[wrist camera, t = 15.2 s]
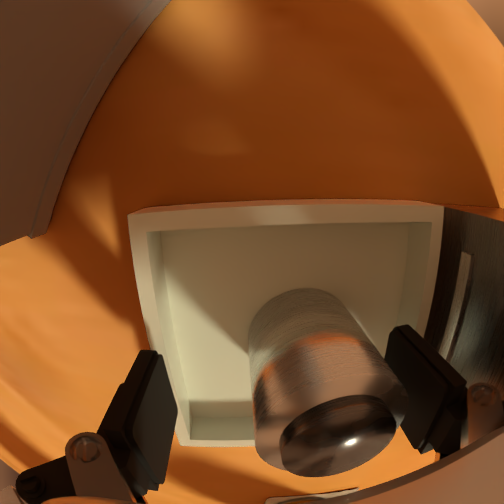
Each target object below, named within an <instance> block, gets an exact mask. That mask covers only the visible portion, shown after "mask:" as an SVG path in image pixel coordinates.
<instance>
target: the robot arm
mask: <svg viewBox="0 0 504 504" xmlns="http://www.w3.org/2000/svg"><path fill="white" fill-rule="evenodd" d="M384 360H385V361H386V362H387V364H388V365H389V367H390V368H391V369H392V371H393V372H394V374H395V375H396V376H397V378H398V379H399V381H400V382H401V384H402V385H403V386H404V388H405V389H406V392H407V394H408V408H407V412H406V414H405V417H404V419H403V421H402V422H401V424H400V426H401V428H402V430H403V431H404V433H405V435H406V436H407V438H408V440H409V441H410V443H411V445H412V446H413V448H414V449H418V451H419V452H420V454H423V453H426V452H428V451H430V450H432V449H433V448H434V450H435V452H436V455H435V462H434V463H432V464H430V465H428V466H426V467H423V468H421V469H419V470H416V471H414V472H412V473H409V474H407V475H404V476H402V477H399V478H396V479H394V480H391V481H388V482H385V483H382V484H379V485H376V486H373V487H370V488H366V489H363V490H360V491H356V492H352V493H349V494H345V495H341V496H336V497H332V498H327V499H323V500H318V501H312V502H307V503H300V504H504V401H503V400H501V395H500V392H499V391H498V389H497V388H496V387H494V386H493V385H491V384H488V383H484V382H480V383H475V384H473V385H471V386H470V387H469V389H468V388H467V387H466V384H467V381H466V380H465V379H464V378H463V377H462V376H461V375H460V374H459V373H458V372H457V371H456V370H455V369H454V368H453V367H452V366H451V365H450V364H449V363H448V362H447V361H446V360H445V359H444V358H443V357H442V356H441V355H440V354H439V353H438V352H437V351H436V350H435V349H434V348H433V347H432V346H431V345H430V344H429V343H428V342H427V341H426V340H425V339H424V338H423V337H421V336H420V335H419V334H418V333H417V332H416V331H415V330H414V329H413V328H412V327H411V326H410V325H408V324H406V325H401V326H396V327H394V328H393V330H392V331H391V332H390V333H389V337H388V343H387V348H386V353H385V358H384ZM177 415H178V407H177V404H176V400H175V397H174V394H173V391H172V387H171V384H170V380H169V377H168V373H167V370H166V366H165V362H164V359H163V356H162V354H158V352H157V351H156V350H141V351H140V352H139V354H138V356H137V358H136V360H135V362H134V364H133V366H132V368H131V370H130V372H129V374H128V376H127V378H126V380H125V382H124V383H122V384H120V386H119V387H118V389H117V391H116V393H115V395H114V397H113V399H112V402H111V404H110V406H109V408H108V410H107V412H106V414H105V416H104V418H103V420H102V422H101V425H100V427H99V429H98V431H97V433H92V432H84V433H80V434H77V435H75V436H74V437H72V438H71V439H70V440H69V441H68V443H67V444H66V447H65V455H66V456H63V457H61V458H58V459H55V460H53V461H50V462H48V463H45V464H42V465H39V466H36V467H34V468H31V469H28V470H25V471H24V472H22V473H21V474H20V475H19V476H18V478H17V480H16V487H14V488H13V487H12V486H11V485H10V486H8V487H7V488H5V489H3V490H1V491H0V504H148V502H147V500H146V499H145V497H144V495H145V494H147V491H148V490H155V491H158V488H159V484H163V483H164V481H165V476H166V470H167V465H168V460H169V455H170V449H171V444H172V440H173V435H174V430H175V425H176V420H177Z"/></svg>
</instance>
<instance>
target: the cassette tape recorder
mask: <svg viewBox="0 0 504 504" xmlns="http://www.w3.org/2000/svg"><path fill="white" fill-rule="evenodd" d="M170 1H171V0H0V246H1V245H4V244H6V243H9V242H11V241H14V240H16V239H19V238H22V237H24V236H29V237H30V238H31V239H32V238H35V237H37V236H40V235H42V234H45V233H46V232H47V228H48V224H49V222H50V220H51V216H52V211H53V208H54V205H55V202H56V199H57V196H58V193H59V190H60V187H61V184H62V182H63V179H64V176H65V174H66V171H67V169H68V166H69V164H70V161H71V159H72V156H73V154H74V152H75V149H76V147H77V145H78V143H79V140H80V138H81V136H82V134H83V132H84V130H85V128H86V126H87V124H88V122H89V120H90V118H91V116H92V114H93V112H94V110H95V108H96V106H97V105H98V103H99V101H100V99H101V97H102V96H103V94H104V92H105V90H106V89H107V87H108V85H109V84H110V82H111V80H112V79H113V77H114V75H115V74H116V72H117V71H118V69H119V68H120V66H121V64H122V63H123V61H124V60H125V59H126V57H127V56H128V54H129V53H130V51H131V50H132V48H133V47H134V46H135V44H136V43H137V41H138V40H139V39H140V37H141V36H142V35H143V33H144V32H145V31H146V30H147V28H148V27H149V26H150V24H151V23H152V22H153V21H154V20H155V18H156V17H157V16H158V15H159V14H160V12H161V11H162V10H163V9H164V8H165V7H166V5H167V4H168V3H169V2H170Z"/></svg>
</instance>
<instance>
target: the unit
mask: <svg viewBox="0 0 504 504" xmlns="http://www.w3.org/2000/svg"><path fill="white" fill-rule="evenodd" d="M431 204H432V203H431ZM435 205H440V206H444V216H443V229H442V240H441V249H440V257H439V264H438V271H437V277H436V283H435V289H434V294H433V299H432V304H431V309H430V313H429V318H428V322H427V326H426V330H425V334H424V339H425V340H426V341H427V342H428V343H429V344H430V345H431V346H432V347H433V348H434V349H435V350H436V351H437V352H438V353H439V354H440V355H441V356H442V357H443V358H444V359H445V360H446V361H447V362H448V363H449V364H450V365H451V366H452V367H453V368H454V369H455V370H456V371H457V372H458V373H459V374H460V375H461V376H462V377H463V378H464V379H465V380H466V381H467V384H466V387H467V388H468V389H469V387H470V386H471V385H473V384H475V383H480V382H484V383H488V384H491V385H493V386H494V387H496V388H497V389H498V391H499V392H500V395H501V400H503V401H504V209H502V208H494V207H481V206H467V205H452V204H435Z"/></svg>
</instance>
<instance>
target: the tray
mask: <svg viewBox="0 0 504 504" xmlns="http://www.w3.org/2000/svg"><path fill="white" fill-rule="evenodd" d="M443 216H444V206H440V205H435V204H431V203H426V202H421V201H415V200H385V199H287V200H255V201H232V202H214V203H197V204H183V205H170V206H158V207H146V208H144V209H141V210H138V211H136V212H133V213H130V214H128V215H127V218H128V227H129V236H130V244H131V251H132V258H133V265H134V271H135V277H136V283H137V289H138V294H139V300H140V305H141V310H142V315H143V319H144V324H145V328H146V333H147V337H148V341H149V345H150V349H151V350H156V351H157V352H158V354H162V356H163V359H164V362H165V366H166V370H167V373H168V377H169V380H170V384H171V387H172V391H173V394H174V397H175V400H176V404H177V407H178V415H177V420H176V425H175V432H176V435H177V438H178V440H179V443H180V446H196V447H246V446H255V436H254V422H253V408H252V394H251V380H250V365H249V350H248V331H249V327H250V324H251V322H252V320H253V318H254V316H255V315H256V313H257V312H258V311H259V309H260V308H261V307H262V306H263V305H264V304H266V303H267V302H268V301H269V300H271V299H272V298H274V297H276V296H277V295H279V294H282V293H284V292H287V291H290V290H294V289H299V288H315V289H320V290H323V291H326V292H329V293H331V294H333V295H334V296H336V297H337V298H338V299H339V300H340V301H341V302H342V303H343V304H344V306H345V307H346V308H347V309H348V311H349V312H350V313H351V315H352V316H353V317H354V319H355V320H356V321H357V323H358V324H359V325H360V327H361V328H362V329H363V331H364V332H365V334H366V335H367V336H368V338H369V339H370V340H371V342H372V343H373V344H374V346H375V347H376V349H377V350H378V351H379V353H380V354H381V355H382V357H383V358H385V353H386V348H387V343H388V337H389V333H390V332H391V331H392V330H393V328H394V327H396V326H401V325H406V324H408V325H410V326H411V327H412V328H413V329H414V330H415V331H416V332H417V333H418V334H419V335H420V336H421V337H423V338H424V334H425V330H426V326H427V322H428V318H429V313H430V309H431V304H432V299H433V294H434V289H435V283H436V277H437V271H438V264H439V257H440V249H441V240H442V229H443Z"/></svg>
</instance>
